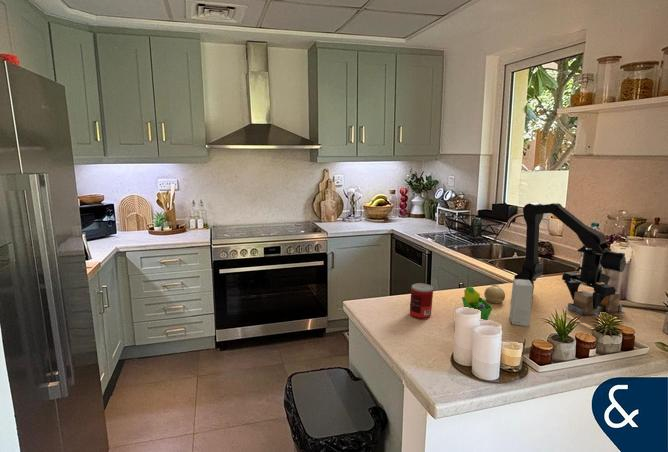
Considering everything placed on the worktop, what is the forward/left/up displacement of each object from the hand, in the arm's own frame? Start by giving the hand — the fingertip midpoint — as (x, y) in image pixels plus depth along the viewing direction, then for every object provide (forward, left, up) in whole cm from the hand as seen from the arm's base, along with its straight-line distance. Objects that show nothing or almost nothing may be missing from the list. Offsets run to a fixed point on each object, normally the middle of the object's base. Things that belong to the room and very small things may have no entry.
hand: (584, 304), depth 156 cm
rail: (+6, 0, -4) cm, 7 cm away
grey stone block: (0, 0, -3) cm, 3 cm away
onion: (-26, +18, -4) cm, 32 cm away
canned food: (-63, +11, -4) cm, 65 cm away
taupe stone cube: (+12, 0, -3) cm, 12 cm away
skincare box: (-30, -1, -4) cm, 31 cm away
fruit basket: (-43, +7, -4) cm, 44 cm away
